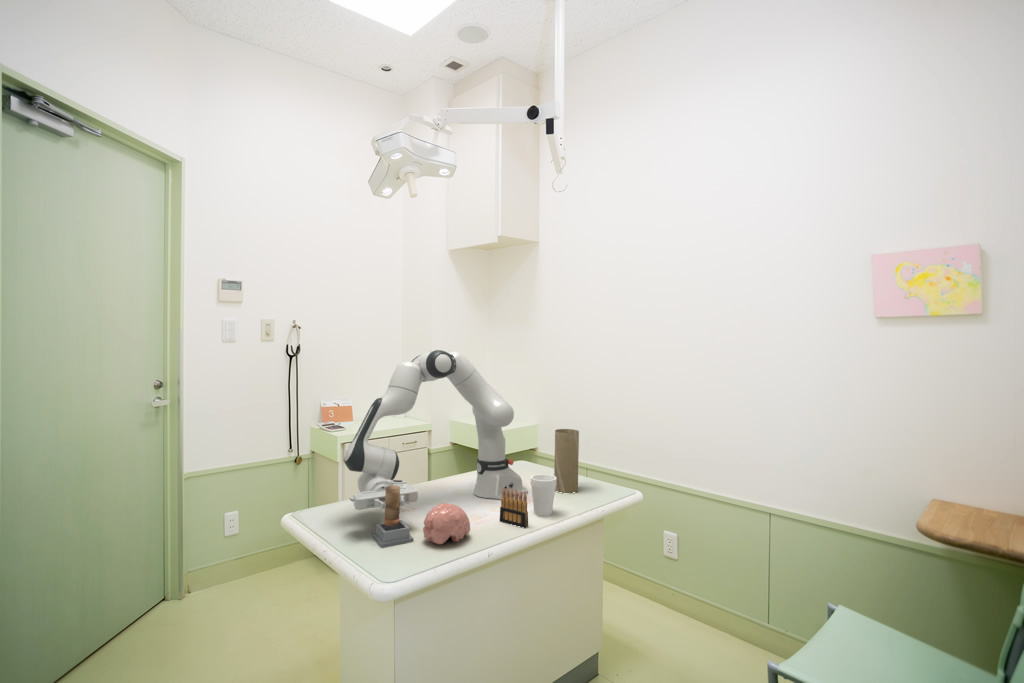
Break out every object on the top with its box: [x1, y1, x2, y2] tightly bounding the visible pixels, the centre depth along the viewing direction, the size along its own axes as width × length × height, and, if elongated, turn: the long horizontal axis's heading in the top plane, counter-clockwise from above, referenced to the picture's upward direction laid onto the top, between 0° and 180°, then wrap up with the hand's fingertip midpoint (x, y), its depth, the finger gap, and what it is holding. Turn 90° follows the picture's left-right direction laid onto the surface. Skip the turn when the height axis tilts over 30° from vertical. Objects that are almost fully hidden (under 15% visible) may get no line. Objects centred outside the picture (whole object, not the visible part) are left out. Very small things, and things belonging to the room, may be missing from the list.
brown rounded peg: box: [383, 486, 401, 526], centre depth 156 cm, size 5×5×11 cm
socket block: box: [371, 519, 414, 549], centre depth 156 cm, size 10×10×4 cm
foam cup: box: [530, 473, 556, 517], centre depth 182 cm, size 10×9×13 cm
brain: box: [422, 503, 471, 545], centre depth 157 cm, size 16×13×12 cm
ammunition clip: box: [499, 487, 529, 529], centre depth 171 cm, size 11×2×12 cm, turn 56°
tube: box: [553, 428, 580, 494], centre depth 212 cm, size 10×10×25 cm
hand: (393, 504), depth 156 cm, fingers closed on brown rounded peg, 4 cm apart
